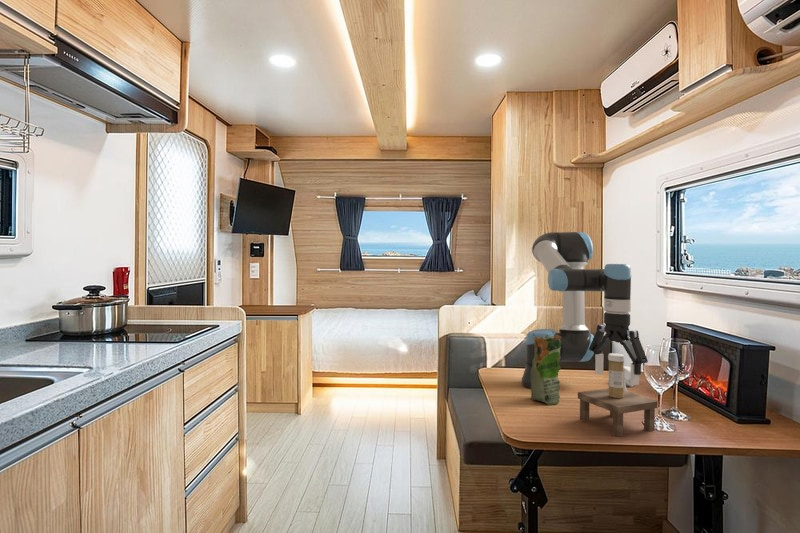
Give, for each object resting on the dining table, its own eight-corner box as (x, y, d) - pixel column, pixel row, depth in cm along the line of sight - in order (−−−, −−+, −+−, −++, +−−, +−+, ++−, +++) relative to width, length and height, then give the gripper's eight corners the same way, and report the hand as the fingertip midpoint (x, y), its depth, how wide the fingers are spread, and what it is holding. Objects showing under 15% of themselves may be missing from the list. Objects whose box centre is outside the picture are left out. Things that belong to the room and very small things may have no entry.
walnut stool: (577, 419, 142) (577, 392, 142) (614, 413, 148) (614, 387, 148) (618, 437, 127) (618, 407, 127) (657, 430, 133) (657, 401, 133)
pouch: (561, 398, 165) (561, 332, 165) (562, 408, 153) (563, 337, 153) (530, 395, 168) (531, 331, 168) (530, 404, 157) (530, 335, 157)
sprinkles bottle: (624, 396, 138) (625, 353, 138) (623, 399, 134) (623, 356, 134) (609, 393, 140) (609, 352, 140) (607, 397, 137) (607, 354, 137)
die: (626, 390, 178) (641, 372, 177) (607, 376, 184) (622, 358, 183) (630, 393, 184) (644, 375, 183) (612, 379, 190) (626, 362, 189)
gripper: (578, 308, 147) (577, 370, 148) (643, 317, 124) (642, 391, 124) (595, 307, 150) (594, 368, 150) (661, 316, 127) (660, 388, 127)
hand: (616, 379), depth 137 cm, fingers open, 13 cm apart
